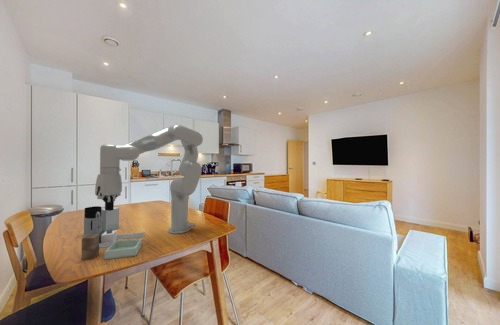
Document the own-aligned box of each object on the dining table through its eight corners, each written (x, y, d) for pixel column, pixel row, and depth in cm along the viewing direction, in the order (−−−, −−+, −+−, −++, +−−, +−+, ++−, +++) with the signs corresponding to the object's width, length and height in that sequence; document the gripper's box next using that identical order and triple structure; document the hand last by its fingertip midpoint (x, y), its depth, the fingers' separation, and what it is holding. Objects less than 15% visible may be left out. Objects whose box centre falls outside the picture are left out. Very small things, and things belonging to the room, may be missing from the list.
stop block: (98, 254, 87) (99, 233, 87) (94, 258, 82) (94, 237, 82) (86, 255, 85) (87, 234, 85) (81, 260, 81) (81, 238, 81)
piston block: (117, 239, 102) (117, 227, 102) (112, 244, 97) (113, 231, 97) (105, 240, 101) (106, 228, 101) (100, 245, 95) (101, 232, 95)
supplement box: (119, 228, 121) (119, 207, 121) (105, 231, 115) (105, 210, 115) (113, 226, 125) (113, 206, 125) (99, 229, 119) (100, 208, 119)
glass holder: (99, 230, 117) (99, 205, 117) (108, 235, 109) (109, 208, 109) (80, 234, 110) (80, 208, 110) (89, 240, 102) (89, 211, 102)
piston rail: (144, 236, 109) (144, 227, 109) (140, 243, 98) (140, 233, 98) (102, 240, 103) (102, 230, 103) (92, 248, 92) (92, 238, 92)
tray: (141, 245, 96) (142, 238, 96) (135, 256, 85) (136, 248, 85) (114, 248, 93) (114, 241, 93) (104, 259, 81) (104, 251, 82)
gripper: (117, 170, 100) (117, 206, 100) (87, 171, 86) (86, 213, 85) (129, 170, 98) (129, 207, 98) (100, 171, 84) (99, 214, 84)
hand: (109, 210), depth 92 cm, fingers closed
